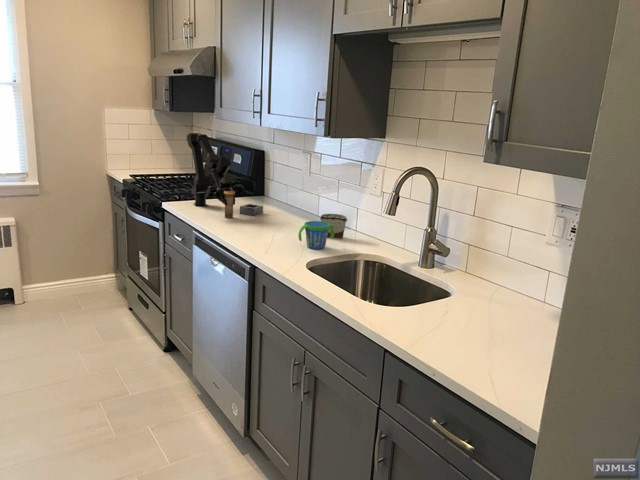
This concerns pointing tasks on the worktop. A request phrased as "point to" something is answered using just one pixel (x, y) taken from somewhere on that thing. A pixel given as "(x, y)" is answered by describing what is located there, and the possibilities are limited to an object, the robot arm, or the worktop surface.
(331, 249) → the worktop surface
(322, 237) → the snack cup
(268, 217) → the worktop surface
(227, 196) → the pin
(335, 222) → the food container
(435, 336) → the worktop surface
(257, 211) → the block
